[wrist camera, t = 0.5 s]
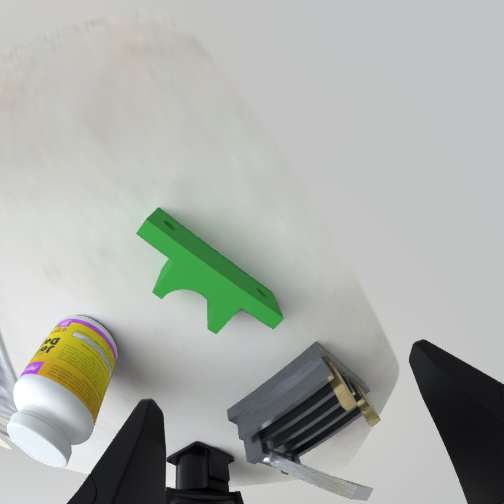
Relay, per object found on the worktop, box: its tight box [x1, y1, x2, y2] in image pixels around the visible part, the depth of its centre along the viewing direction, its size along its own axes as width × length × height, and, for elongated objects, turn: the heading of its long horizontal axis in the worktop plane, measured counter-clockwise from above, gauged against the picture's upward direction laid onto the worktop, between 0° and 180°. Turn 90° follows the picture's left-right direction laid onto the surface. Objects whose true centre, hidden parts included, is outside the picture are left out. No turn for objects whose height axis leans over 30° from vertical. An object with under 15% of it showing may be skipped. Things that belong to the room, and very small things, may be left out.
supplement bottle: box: [7, 315, 118, 468], centre depth 17 cm, size 7×7×13 cm
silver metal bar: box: [259, 448, 373, 500], centre depth 20 cm, size 12×4×2 cm
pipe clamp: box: [136, 207, 284, 334], centre depth 20 cm, size 11×4×5 cm, turn 50°
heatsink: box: [227, 342, 380, 475], centre depth 25 cm, size 12×10×7 cm
